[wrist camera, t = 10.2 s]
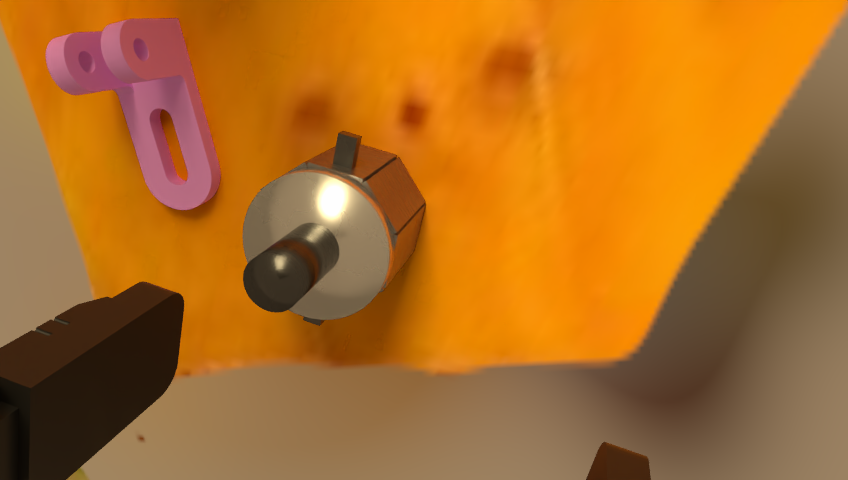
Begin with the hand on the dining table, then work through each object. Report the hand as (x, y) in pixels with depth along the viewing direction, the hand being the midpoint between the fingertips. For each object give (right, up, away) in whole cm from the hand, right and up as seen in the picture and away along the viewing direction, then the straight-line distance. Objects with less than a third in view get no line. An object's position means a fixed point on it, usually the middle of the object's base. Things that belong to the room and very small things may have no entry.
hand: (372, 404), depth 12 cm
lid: (-5, +3, +29) cm, 29 cm away
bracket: (-17, +12, +37) cm, 42 cm away
